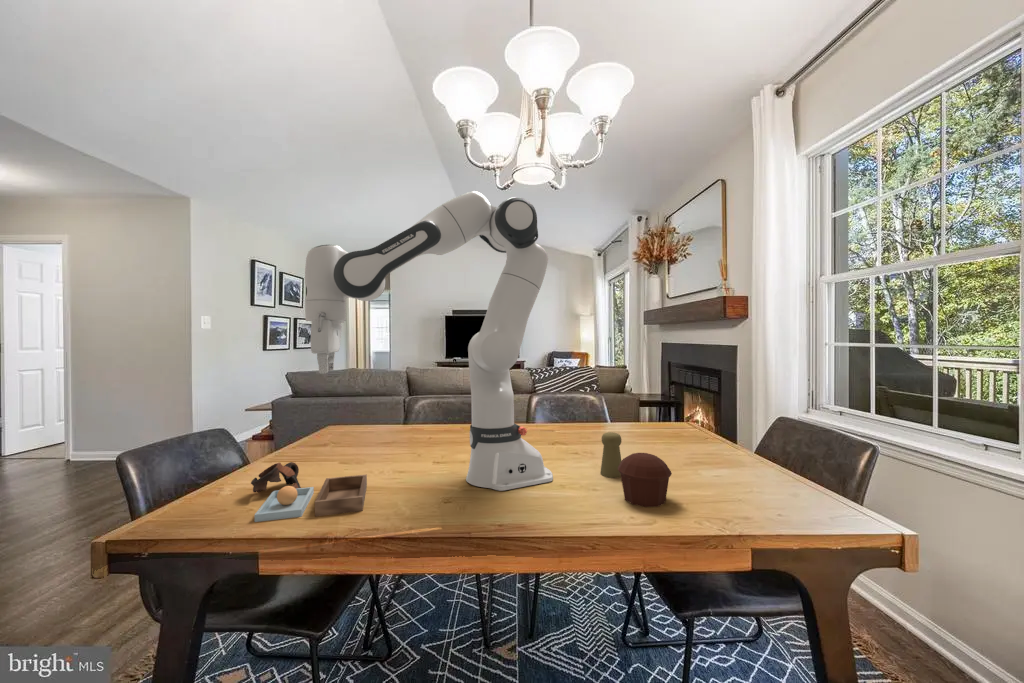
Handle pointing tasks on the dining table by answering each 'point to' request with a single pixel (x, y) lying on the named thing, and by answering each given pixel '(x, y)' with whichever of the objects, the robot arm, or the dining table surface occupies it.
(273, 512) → the tray
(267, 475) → the brown curved piece
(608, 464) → the cork
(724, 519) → the dining table surface
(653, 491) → the muffin
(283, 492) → the ball
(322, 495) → the wooden planter box
